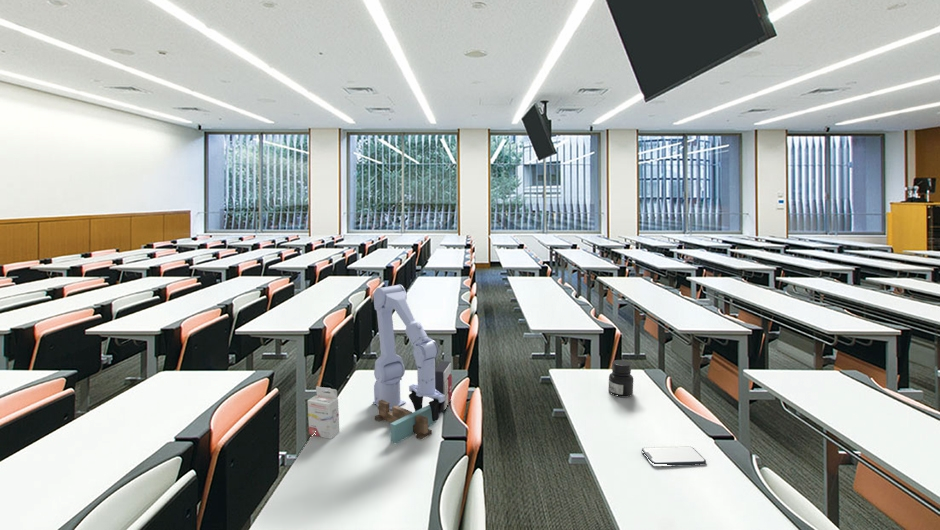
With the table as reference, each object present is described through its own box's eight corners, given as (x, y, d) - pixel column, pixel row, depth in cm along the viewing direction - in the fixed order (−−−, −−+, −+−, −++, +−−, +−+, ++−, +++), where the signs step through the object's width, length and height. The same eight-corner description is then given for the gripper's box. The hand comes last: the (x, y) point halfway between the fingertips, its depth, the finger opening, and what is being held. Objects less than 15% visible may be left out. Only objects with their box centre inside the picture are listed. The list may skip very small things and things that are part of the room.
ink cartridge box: (308, 435, 157) (305, 391, 155) (317, 428, 162) (315, 385, 159) (331, 439, 154) (328, 395, 152) (340, 432, 159) (338, 388, 157)
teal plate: (395, 443, 151) (394, 425, 150) (390, 441, 153) (390, 423, 152) (435, 422, 165) (435, 405, 164) (431, 420, 166) (431, 403, 165)
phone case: (691, 450, 148) (639, 452, 147) (691, 445, 148) (640, 447, 146) (707, 467, 139) (653, 468, 138) (708, 461, 139) (653, 463, 138)
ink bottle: (603, 389, 192) (604, 359, 190) (624, 386, 194) (625, 357, 192) (616, 399, 183) (618, 368, 181) (637, 396, 185) (639, 366, 183)
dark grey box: (445, 413, 172) (444, 372, 170) (433, 412, 173) (432, 371, 170) (452, 400, 182) (452, 361, 180) (441, 399, 183) (440, 360, 181)
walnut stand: (374, 419, 167) (374, 402, 166) (386, 414, 171) (385, 398, 170) (420, 440, 153) (420, 421, 153) (431, 433, 157) (431, 416, 156)
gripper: (402, 376, 162) (403, 414, 165) (433, 387, 153) (434, 427, 155) (417, 369, 168) (418, 407, 170) (449, 380, 159) (449, 419, 161)
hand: (427, 416), depth 163 cm, fingers open, 7 cm apart
